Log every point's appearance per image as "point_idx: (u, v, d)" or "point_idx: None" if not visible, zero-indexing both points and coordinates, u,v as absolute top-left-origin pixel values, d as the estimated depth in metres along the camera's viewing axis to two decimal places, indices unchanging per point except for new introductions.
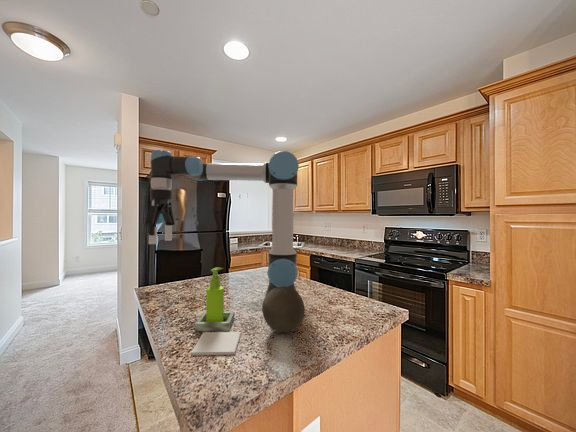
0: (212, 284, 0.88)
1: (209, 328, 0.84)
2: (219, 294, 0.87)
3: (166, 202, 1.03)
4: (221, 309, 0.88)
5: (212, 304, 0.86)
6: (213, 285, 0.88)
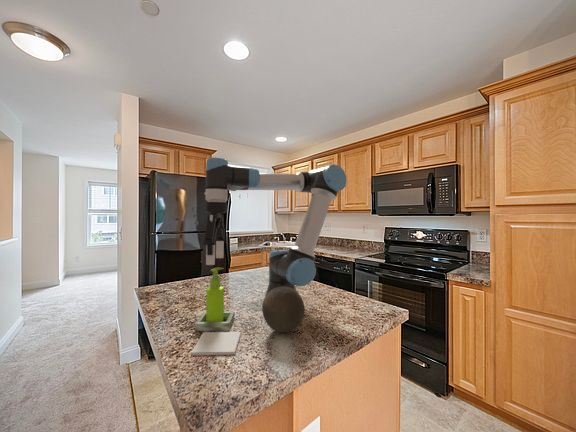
0: (212, 284, 0.88)
1: (209, 328, 0.84)
2: (219, 294, 0.87)
3: (220, 216, 0.92)
4: (221, 309, 0.88)
5: (212, 304, 0.86)
6: (213, 285, 0.88)
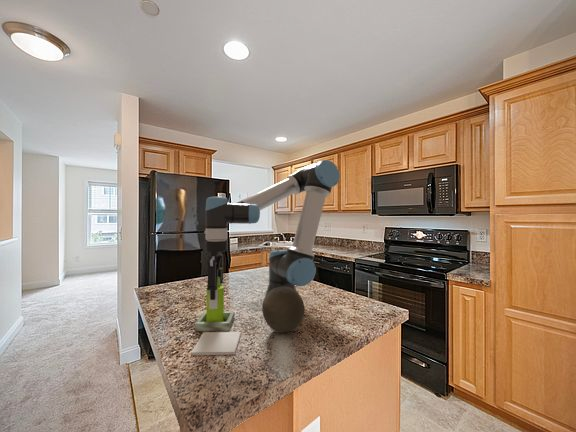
0: None
1: (209, 328, 0.84)
2: (219, 293, 0.87)
3: (220, 252, 0.92)
4: (221, 308, 0.88)
5: None
6: None
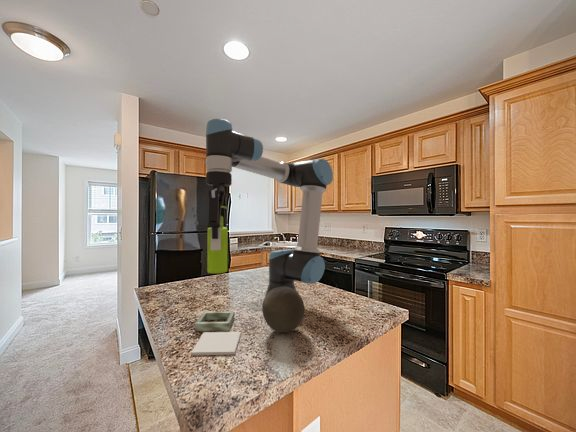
0: None
1: (209, 328, 0.84)
2: (222, 234, 0.74)
3: (224, 189, 0.79)
4: (225, 252, 0.75)
5: None
6: None
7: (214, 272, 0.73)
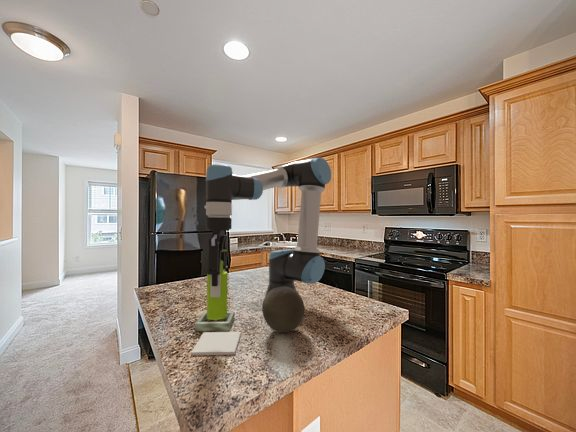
0: None
1: (209, 328, 0.84)
2: (222, 279, 0.74)
3: (224, 232, 0.78)
4: (224, 297, 0.75)
5: None
6: None
7: (214, 318, 0.73)
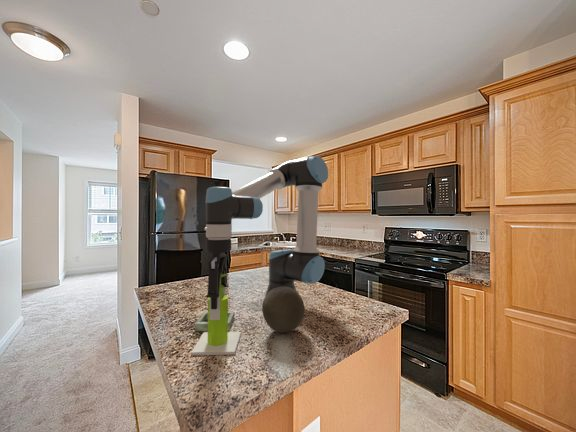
0: None
1: None
2: (222, 305, 0.74)
3: (223, 253, 0.78)
4: (225, 323, 0.75)
5: None
6: None
7: (214, 344, 0.73)
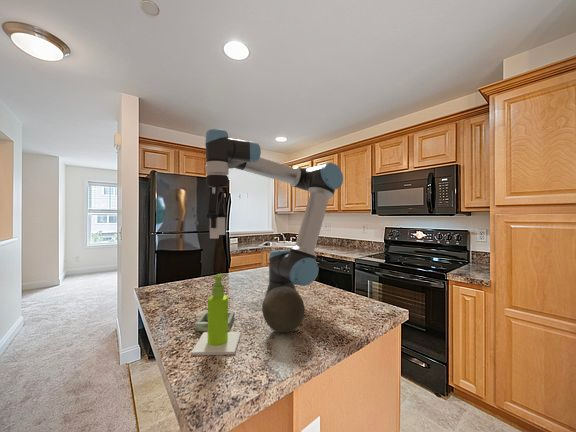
0: (215, 293, 0.75)
1: None
2: (222, 305, 0.74)
3: (221, 190, 0.90)
4: (225, 323, 0.75)
5: (214, 317, 0.73)
6: (216, 295, 0.74)
7: (214, 344, 0.73)
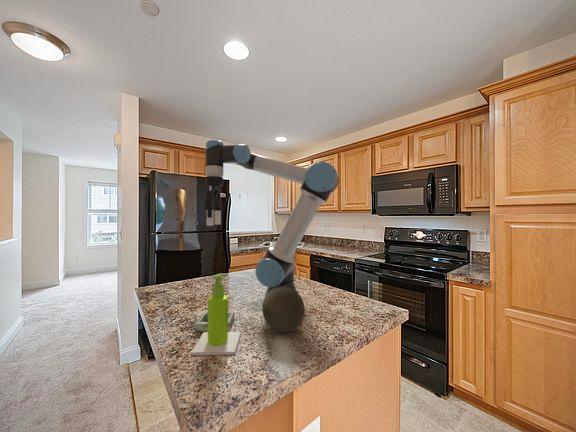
0: (214, 293, 0.75)
1: None
2: (222, 305, 0.74)
3: (218, 188, 1.13)
4: (225, 323, 0.75)
5: (214, 317, 0.73)
6: (216, 295, 0.75)
7: (214, 344, 0.73)
